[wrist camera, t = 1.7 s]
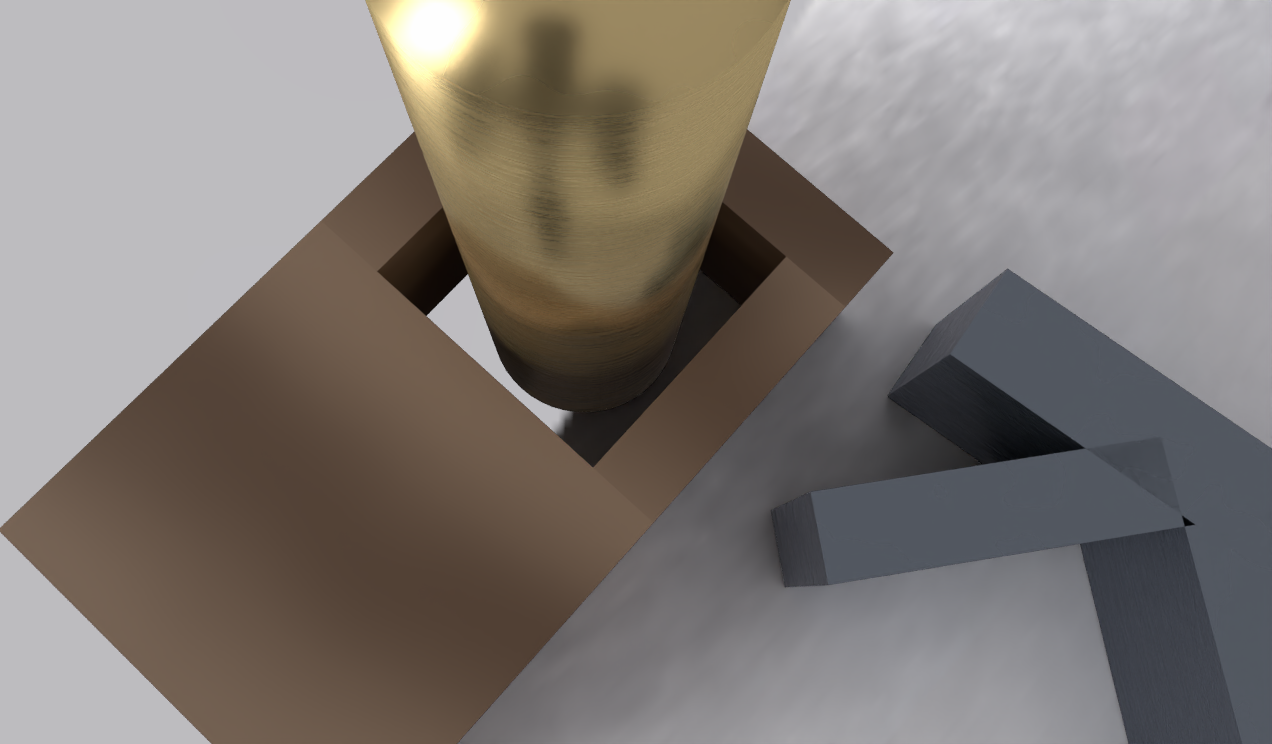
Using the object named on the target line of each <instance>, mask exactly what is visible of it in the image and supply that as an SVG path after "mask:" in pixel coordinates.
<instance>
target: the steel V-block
mask: <svg viewBox="0 0 1272 744" xmlns="http://www.w3.org/2000/svg"><path fill="white" fill-rule="evenodd" d="M888 397H889V398H891V399H892V400H893V401H895V402H896V403H898V404H899V405H901V406H902V407H903V408H905V409H906V410H908V411H909V412H910V413H912V414H913V415H915V416H916V417H918V418H919V419H920V420H922V421H923V422H925V423H926V424H928V425H929V426H930V427H932V428H933V429H935V430H936V431H938V432H939V433H940V434H942V435H943V436H945V437H946V438H947V439H949V440H950V441H952V442H953V443H955V444H956V445H957V446H959V447H960V448H962V449H963V450H965V451H966V452H967V453H969V454H970V455H972V456H973V457H974V458H976V459H977V460H979V461H980V462H982V463H983V464H984V465H978V466H972V467H965V468H959V469H953V470H946V471H940V472H933V473H927V474H921V475H914V476H908V477H902V478H895V479H889V480H882V481H876V482H870V483H863V484H857V485H851V486H844V487H838V488H832V489H825V490H819V491H812V492H809V493H807V494H805V495H803V496H801V497H798V498H796V499H794V500H792V501H790V502H788V503H786V504H783V505H781V506H779V507H777V508H775V509H773V510H771V514H772V520H773V525H774V530H775V536H776V541H777V547H778V552H779V558H780V563H781V568H782V574H783V579H784V585H785V587H796V586H817V585H831V584H837V583H844V582H850V581H856V580H862V579H868V578H874V577H880V576H886V575H892V574H898V573H904V572H911V571H917V570H923V569H929V568H935V567H941V566H947V565H953V564H959V563H965V562H971V561H977V560H984V559H990V558H996V557H1002V556H1008V555H1014V554H1020V553H1026V552H1032V551H1038V550H1044V549H1050V548H1057V547H1063V546H1069V545H1075V544H1080V545H1081V549H1082V553H1083V557H1084V561H1085V565H1086V570H1087V574H1088V578H1089V582H1090V586H1091V590H1092V594H1093V598H1094V602H1095V607H1096V611H1097V615H1098V619H1099V623H1100V627H1101V631H1102V635H1103V639H1104V644H1105V648H1106V652H1107V656H1108V660H1109V664H1110V668H1111V672H1112V676H1113V681H1114V685H1115V689H1116V693H1117V697H1118V701H1119V705H1120V709H1121V713H1122V718H1123V722H1124V726H1125V730H1126V734H1127V738H1128V742H1129V744H1272V449H1271V448H1270V447H1268V446H1267V445H1266V444H1264V443H1263V442H1261V441H1260V440H1258V439H1257V438H1255V437H1254V436H1252V435H1251V434H1249V433H1248V432H1246V431H1245V430H1244V429H1242V428H1241V427H1239V426H1238V425H1236V424H1235V423H1233V422H1232V421H1230V420H1229V419H1227V418H1226V417H1224V416H1223V415H1222V414H1220V413H1219V412H1217V411H1216V410H1214V409H1213V408H1211V407H1210V406H1208V405H1207V404H1205V403H1204V402H1202V401H1201V400H1200V399H1198V398H1197V397H1195V396H1194V395H1192V394H1191V393H1189V392H1188V391H1186V390H1185V389H1183V388H1182V387H1180V386H1179V385H1178V384H1176V383H1175V382H1173V381H1172V380H1170V379H1169V378H1167V377H1166V376H1164V375H1163V374H1161V373H1160V372H1158V371H1157V370H1156V369H1154V368H1153V367H1151V366H1150V365H1148V364H1147V363H1145V362H1144V361H1142V360H1141V359H1139V358H1138V357H1136V356H1135V355H1134V354H1132V353H1131V352H1129V351H1128V350H1126V349H1125V348H1123V347H1122V346H1120V345H1119V344H1117V343H1116V342H1114V341H1113V340H1112V339H1110V338H1109V337H1107V336H1106V335H1104V334H1103V333H1101V332H1100V331H1098V330H1097V329H1095V328H1094V327H1092V326H1091V325H1090V324H1088V323H1087V322H1085V321H1084V320H1082V319H1081V318H1079V317H1078V316H1076V315H1075V314H1073V313H1072V312H1070V311H1069V310H1068V309H1066V308H1065V307H1063V306H1062V305H1060V304H1059V303H1057V302H1056V301H1054V300H1053V299H1051V298H1050V297H1048V296H1047V295H1046V294H1044V293H1043V292H1041V291H1040V290H1038V289H1037V288H1035V287H1034V286H1032V285H1031V284H1029V283H1028V282H1026V281H1025V280H1024V279H1022V278H1021V277H1019V276H1018V275H1016V274H1015V273H1013V272H1012V271H1010V270H1009V269H1006V270H1005V271H1004V272H1003V273H1001V274H1000V275H999V276H997V277H996V278H995V279H994V280H992V281H991V282H990V283H989V284H987V285H986V286H985V287H983V288H982V289H981V290H980V291H978V292H977V293H976V294H974V295H973V296H972V297H971V298H969V299H968V300H967V301H966V302H964V303H963V304H962V305H960V306H959V307H958V308H957V309H955V310H954V311H953V312H951V313H950V314H949V315H948V316H946V317H945V318H944V319H942V320H941V321H940V322H939V323H937V324H936V325H935V327H934V328H933V330H932V331H931V333H930V334H929V336H928V337H927V339H926V340H925V341H924V343H923V344H922V346H921V347H920V349H919V350H918V352H917V353H916V355H915V356H914V358H913V359H912V360H911V362H910V363H909V365H908V366H907V368H906V369H905V371H904V372H903V374H902V375H901V377H900V378H899V380H898V381H897V382H896V384H895V385H894V387H893V388H892V390H891V391H890V393H889V394H888Z"/></svg>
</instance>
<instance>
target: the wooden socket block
mask: <svg viewBox="0 0 1272 744" xmlns="http://www.w3.org/2000/svg"><path fill="white" fill-rule="evenodd" d="M892 254H893V252H892V251H891V250H890V249H889V248H887V247H886V246H885V245H884V244H883V243H882V242H880V241H879V240H878V239H877V238H876V237H874V236H873V235H872V234H871V233H870V232H868V231H867V230H866V229H865V228H864V227H863V226H861V225H860V224H859V223H858V222H857V221H855V220H854V219H853V218H852V217H851V216H849V215H848V214H847V213H846V212H845V211H844V210H842V209H841V208H840V207H839V206H838V205H836V204H835V203H834V202H833V201H832V200H830V199H829V198H828V197H827V196H826V195H825V194H823V193H822V192H821V191H820V190H819V189H817V188H816V187H815V186H814V185H813V184H811V183H810V182H809V181H808V180H807V179H806V178H804V177H803V176H802V175H801V174H800V173H798V172H797V171H796V170H795V169H794V168H792V167H791V166H790V165H789V164H788V163H787V162H785V161H784V160H783V159H782V158H781V157H779V156H778V155H777V154H776V153H775V152H773V151H772V150H771V149H770V148H769V147H768V146H766V145H765V144H764V143H763V142H762V141H760V140H759V139H758V138H757V137H756V136H754V135H753V134H752V133H751V132H750V131H749V130H747V131H746V134H745V136H744V139H743V142H742V145H741V148H740V151H739V154H738V157H737V160H736V163H735V166H734V169H733V172H732V175H731V178H730V181H729V184H728V187H727V190H726V193H725V196H724V199H723V201H722V204H721V207H720V210H719V213H718V216H717V219H716V222H715V225H714V228H713V231H712V234H711V237H710V240H709V243H708V246H707V249H706V252H705V255H704V258H703V261H702V263H701V266H700V270H701V271H702V272H704V273H705V274H706V275H707V276H708V277H709V278H710V279H712V280H713V281H714V282H715V283H716V284H717V285H718V286H720V287H721V288H722V289H723V290H724V291H725V292H727V293H728V294H729V295H730V296H731V297H732V298H733V299H735V300H736V301H737V302H738V303H739V304H740V305H742V306H741V307H740V308H739V309H738V310H737V311H736V312H735V313H734V314H733V315H732V316H731V318H730V319H729V320H728V321H727V322H726V323H725V324H724V325H723V326H722V327H721V328H720V330H719V331H718V332H717V333H716V334H715V335H714V336H713V337H712V338H711V339H710V340H709V342H708V343H707V344H706V345H705V346H704V347H703V348H702V349H701V350H700V351H699V352H698V354H697V355H696V356H695V357H694V358H693V359H692V360H691V361H690V362H689V363H688V364H687V366H686V367H685V368H684V369H683V370H682V371H681V372H680V373H679V374H678V375H677V377H676V378H675V379H674V380H673V381H672V382H671V383H670V384H669V385H668V386H667V387H666V389H665V390H664V391H663V392H662V393H661V394H660V395H659V396H658V397H657V398H656V399H655V401H654V402H653V403H652V404H651V405H650V406H649V407H648V408H647V409H646V410H645V411H644V413H643V414H642V415H641V416H640V417H639V418H638V419H637V420H636V421H635V422H634V423H633V425H632V426H631V427H630V428H629V429H628V430H627V431H626V432H625V433H624V434H623V435H622V437H621V438H620V439H619V440H618V441H617V442H616V443H615V444H614V445H613V446H612V447H611V449H610V450H609V451H608V452H607V453H606V454H605V455H604V456H603V457H602V458H601V459H600V461H599V462H598V463H597V464H596V465H595V466H594V467H592V466H591V465H589V464H588V463H587V462H586V461H585V460H584V459H583V458H582V457H581V456H580V455H578V454H577V453H576V452H575V451H574V450H573V449H572V448H571V447H570V446H569V445H567V444H566V443H565V442H564V441H563V440H562V439H561V438H560V437H559V436H558V435H556V434H555V433H554V432H553V431H552V430H551V429H550V428H549V427H548V426H547V425H545V424H544V423H543V422H542V421H541V420H540V419H539V418H538V417H537V416H536V415H534V414H533V413H532V412H531V411H530V410H529V409H528V408H527V407H526V406H524V405H523V404H522V403H521V402H520V401H519V400H518V399H517V398H516V397H514V395H512V394H511V393H510V392H509V391H508V390H507V389H506V388H505V387H504V386H503V385H501V384H500V383H499V382H498V381H497V380H496V379H495V378H494V377H492V376H491V375H490V374H489V373H488V372H487V371H486V370H485V369H484V368H483V367H481V366H480V365H479V364H478V363H477V362H476V361H475V360H474V359H473V358H472V357H470V356H469V355H468V354H467V353H466V352H465V351H464V350H463V349H462V348H461V347H460V346H458V345H457V344H456V343H455V342H454V341H453V340H452V339H451V338H450V337H448V336H447V335H446V334H445V333H444V332H443V331H442V330H441V329H440V328H439V327H438V326H436V325H435V324H434V323H433V322H432V321H431V320H430V319H429V318H428V317H426V316H427V315H428V314H429V313H430V312H431V311H432V310H433V309H434V308H435V307H436V306H437V304H439V302H441V301H442V300H443V299H444V298H445V297H446V296H447V295H448V294H449V292H450V291H452V290H453V288H454V287H456V285H457V284H458V283H459V282H460V281H461V280H462V279H463V278H464V277H465V276H466V275H467V274H468V272H467V270H466V267H465V264H464V262H463V259H462V256H461V254H460V251H459V248H458V246H457V243H456V240H455V238H454V235H453V232H452V230H451V227H450V224H449V222H448V219H447V216H446V214H445V211H444V208H443V206H442V203H441V200H440V198H439V195H438V192H437V190H436V187H435V185H434V182H433V179H432V177H431V174H430V171H429V169H428V166H427V163H426V161H425V158H424V155H423V153H422V150H421V147H420V145H419V142H418V139H417V137H416V134H415V131H414V132H413V133H412V134H411V135H410V136H409V137H408V138H407V139H406V140H405V141H404V142H403V143H402V144H401V145H400V146H399V147H398V148H397V149H396V150H395V151H394V152H393V153H391V155H389V156H388V157H387V158H386V159H385V160H384V161H383V162H382V163H381V164H380V165H379V166H378V167H377V168H376V169H375V170H374V171H373V172H372V173H371V174H370V175H369V176H367V177H366V178H365V179H364V180H363V181H362V182H361V183H360V184H359V185H358V186H357V187H356V188H355V189H354V190H353V191H352V192H351V193H350V194H349V195H348V196H347V197H345V199H343V200H342V201H341V202H340V203H339V204H338V205H337V206H336V207H335V208H334V209H333V210H332V211H331V212H330V213H329V214H328V215H327V216H326V217H325V218H324V219H323V220H322V221H320V222H319V223H318V224H317V225H316V226H315V227H314V228H313V229H312V230H311V231H310V232H309V233H308V234H307V235H306V236H305V237H304V238H303V239H302V240H301V241H299V242H298V243H297V245H295V246H294V247H293V248H292V249H291V250H290V251H289V252H288V253H287V254H286V255H285V256H284V257H283V258H282V259H281V260H280V261H279V262H278V263H277V264H275V265H274V266H273V268H271V269H270V270H269V271H268V272H267V273H266V274H265V275H264V276H263V277H262V278H261V279H260V280H259V281H258V282H257V283H256V284H255V285H253V287H251V288H250V289H249V290H248V291H247V292H246V293H245V294H244V295H243V296H242V297H241V298H240V299H239V300H238V301H237V302H236V303H235V304H234V305H233V306H232V307H230V308H229V309H228V310H227V311H226V312H225V313H224V314H223V315H222V316H221V317H220V318H219V319H218V320H217V321H216V322H215V323H214V324H213V325H212V326H211V327H210V328H209V329H208V330H206V331H205V332H204V333H203V334H202V335H201V336H200V337H199V338H198V339H197V340H196V341H195V342H194V343H193V344H192V345H191V346H190V347H189V348H188V349H187V350H186V351H185V352H184V353H182V354H181V355H180V356H179V357H178V358H177V359H176V360H175V361H174V362H173V363H172V364H171V365H170V366H169V367H168V368H167V369H166V370H165V371H164V372H163V373H162V374H161V375H160V376H158V377H157V378H156V379H155V380H154V381H153V382H152V383H151V384H150V385H149V386H148V387H147V388H146V389H145V390H144V391H143V392H142V393H141V394H140V395H138V397H137V398H135V399H134V400H133V401H132V402H131V403H130V404H129V405H128V406H127V407H126V408H125V409H124V410H123V411H122V412H121V413H120V414H119V415H118V416H117V417H116V418H114V419H113V420H112V421H111V422H110V423H109V424H108V425H107V426H106V427H105V428H104V429H103V430H102V431H101V432H100V433H99V434H98V435H97V436H96V437H95V438H94V439H93V440H91V442H89V443H88V444H87V445H86V446H85V447H84V448H83V449H82V450H81V451H80V452H79V453H78V454H77V455H76V456H75V457H74V458H73V459H72V460H71V461H70V462H69V463H67V464H66V465H65V466H64V467H63V468H62V469H61V470H60V471H59V472H58V473H57V474H56V475H55V476H54V477H53V478H52V479H51V480H50V481H49V482H48V483H47V484H46V485H44V486H43V487H42V488H41V489H40V490H39V491H38V492H37V493H36V494H35V495H34V496H33V497H32V498H31V499H30V500H29V501H28V502H27V503H26V504H25V505H24V506H23V507H22V508H20V510H18V511H17V512H16V513H15V514H14V515H13V516H12V517H11V518H10V519H9V520H8V521H7V522H6V523H5V524H4V525H3V526H2V527H1V528H0V532H1V533H2V534H3V535H4V536H5V537H6V538H7V539H8V540H9V541H10V542H11V543H12V544H13V545H14V546H15V547H16V548H17V549H18V550H19V551H20V552H21V553H22V554H23V555H24V556H25V557H26V558H27V559H28V560H29V561H30V562H31V563H32V564H33V565H34V566H35V567H36V568H37V569H38V570H39V571H40V572H41V573H42V574H43V575H44V576H45V577H46V578H47V579H48V580H49V581H50V582H51V583H52V584H53V585H54V586H55V587H56V588H57V589H58V590H59V591H60V592H61V593H62V594H63V595H64V596H65V597H66V598H67V599H68V600H69V601H70V602H71V603H72V604H73V605H74V606H75V607H76V608H77V609H78V610H79V611H80V612H81V613H82V614H83V615H84V616H85V617H86V618H87V619H88V620H89V621H90V622H91V623H92V624H93V625H94V626H95V627H96V628H97V629H98V630H99V631H100V632H101V633H102V634H103V635H104V636H105V637H106V638H107V639H108V640H109V641H110V642H111V643H112V644H113V646H114V647H115V648H117V649H118V650H119V652H120V653H121V654H123V656H125V657H126V659H128V660H129V662H130V663H131V664H133V666H134V667H135V668H137V669H138V670H139V671H140V673H141V674H142V675H143V676H144V677H145V678H146V679H147V680H149V682H151V684H153V686H154V687H155V688H156V689H157V690H158V691H159V692H160V693H161V694H162V695H163V696H164V697H165V698H166V699H167V700H168V701H169V702H170V703H172V705H173V706H174V707H175V708H176V709H177V710H179V712H180V713H181V714H182V715H183V716H185V718H186V719H187V720H189V722H190V723H191V724H193V726H194V727H195V728H196V729H197V730H198V731H199V732H201V734H202V735H204V737H205V738H207V740H208V741H209V742H210V743H211V744H457V743H458V742H459V741H460V740H461V739H462V737H463V736H464V735H465V734H466V733H467V732H468V731H469V730H470V728H471V727H472V726H473V725H474V724H475V723H476V722H477V721H478V719H479V718H480V717H481V716H482V715H483V714H484V713H485V712H486V710H487V709H488V708H489V707H490V706H491V705H492V704H493V703H494V701H495V700H496V699H497V698H498V697H499V696H500V695H501V694H502V692H503V691H504V690H505V689H506V688H507V687H508V686H509V685H510V683H511V682H512V681H513V680H514V679H515V678H516V677H517V676H518V674H519V673H520V672H521V671H522V670H523V669H524V668H525V667H526V665H527V664H528V663H529V662H530V661H531V660H532V659H533V658H534V656H535V655H536V654H537V653H538V652H539V651H540V650H541V649H542V647H543V646H544V645H545V644H546V643H547V642H548V641H549V640H550V638H551V637H552V636H553V635H554V634H555V633H556V632H557V631H558V629H559V628H560V627H561V626H562V625H563V624H564V623H565V622H566V620H567V619H568V618H569V617H570V616H571V615H572V614H573V613H574V611H575V610H576V609H577V608H578V607H579V606H580V605H581V604H582V602H583V601H584V600H585V599H586V598H587V597H588V596H589V595H590V593H591V592H592V591H593V590H594V589H595V588H596V587H597V586H598V584H599V583H600V582H601V581H602V580H603V579H604V578H605V577H606V575H607V574H608V573H609V572H610V571H611V570H612V569H613V568H614V567H615V565H616V564H617V563H618V562H619V561H620V560H621V559H622V558H623V556H624V555H625V554H626V553H627V552H628V551H629V550H630V549H631V547H632V546H633V545H634V544H635V543H636V542H637V541H638V540H639V538H640V537H641V536H642V535H643V534H644V533H645V532H646V531H647V529H648V528H649V527H650V526H651V525H652V524H653V523H654V522H655V520H656V519H657V518H658V517H659V516H660V515H661V514H662V513H663V511H664V510H665V509H666V508H667V507H668V506H669V505H670V504H671V502H672V501H673V500H674V499H675V498H676V497H677V496H678V495H679V493H680V492H681V491H682V490H683V489H684V488H685V487H686V486H687V484H688V483H689V482H690V481H691V480H692V479H693V478H694V477H695V475H696V474H697V473H698V472H699V471H700V470H701V469H702V468H703V466H704V465H705V464H706V463H707V462H708V461H709V460H710V459H711V457H712V456H713V455H714V454H715V453H716V452H717V451H718V450H719V448H720V447H721V446H722V445H723V444H724V443H725V442H726V441H727V439H728V438H729V437H730V436H731V435H732V434H733V433H734V432H735V430H736V429H737V428H738V427H739V426H740V425H741V424H742V423H743V421H744V420H745V419H746V418H747V417H748V416H749V415H750V414H751V412H752V411H753V410H754V409H755V408H756V407H757V406H758V405H759V403H760V402H761V401H762V400H763V399H764V398H765V397H766V396H767V394H768V393H769V392H770V391H771V390H772V389H773V388H774V387H775V385H776V384H777V383H778V382H779V381H780V380H781V379H782V378H783V377H784V375H785V374H786V373H787V372H788V371H789V370H790V369H791V368H792V366H793V365H794V364H795V363H796V362H797V361H798V360H799V359H800V357H801V356H802V355H803V354H804V353H805V352H806V351H807V350H808V348H809V347H810V346H811V345H812V344H813V343H814V342H815V341H816V339H817V338H818V337H819V336H820V335H821V334H822V333H823V332H824V330H825V329H826V328H827V327H828V326H829V325H830V324H831V323H832V321H833V320H834V319H835V318H836V317H837V316H838V315H839V314H840V312H841V311H842V310H843V309H844V308H845V307H846V306H847V305H848V303H849V302H850V301H851V300H852V299H853V298H854V297H855V296H856V294H857V293H858V292H859V291H860V290H861V289H862V288H863V287H864V285H865V284H866V283H867V282H868V281H869V280H870V279H871V278H872V276H873V275H874V274H875V273H876V272H877V271H878V270H879V269H880V267H881V266H882V265H883V264H884V263H885V262H886V261H887V260H888V258H889V257H890V256H891V255H892Z"/></svg>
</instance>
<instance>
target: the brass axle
mask: <svg viewBox="0 0 1272 744" xmlns="http://www.w3.org/2000/svg"><path fill="white" fill-rule="evenodd" d="M790 1H791V0H366V3H367V6H368V9H369V11H370V14H371V17H372V19H373V22H374V25H375V27H376V30H377V33H378V35H379V38H380V41H381V43H382V46H383V48H384V51H385V54H386V57H387V59H388V62H389V64H390V67H391V70H392V73H393V75H394V78H395V81H396V83H397V85H398V89H399V91H400V94H401V96H402V99H403V102H404V104H405V107H406V110H407V113H408V115H409V118H410V121H411V123H412V126H413V128H414V131H415V134H416V137H417V139H418V142H419V145H420V147H421V150H422V153H423V155H424V158H425V161H426V163H427V166H428V169H429V171H430V174H431V177H432V179H433V182H434V185H435V187H436V190H437V192H438V195H439V198H440V200H441V203H442V206H443V208H444V211H445V214H446V216H447V219H448V222H449V224H450V227H451V230H452V232H453V235H454V238H455V240H456V243H457V246H458V248H459V251H460V254H461V256H462V259H463V262H464V264H465V267H466V270H467V272H468V275H469V277H470V280H471V283H472V286H473V288H474V291H475V294H476V296H477V299H478V302H479V304H480V307H481V310H482V312H483V315H484V318H485V320H486V323H487V326H488V328H489V331H490V334H491V336H492V339H493V342H494V344H495V347H496V350H497V352H498V355H499V357H500V360H501V362H502V364H503V365H504V367H505V369H506V371H507V372H508V373H509V375H510V376H511V377H512V379H513V380H514V381H515V382H516V383H517V384H518V385H519V386H520V387H521V388H522V389H523V390H525V391H526V392H527V393H528V394H529V395H531V396H532V397H534V398H536V399H537V400H539V401H541V402H543V403H545V404H547V405H550V406H552V407H555V408H558V409H562V410H567V411H573V412H595V411H603V410H607V409H611V408H614V407H617V406H619V405H622V404H624V403H626V402H628V401H630V400H632V399H634V398H635V397H637V396H638V395H639V394H641V393H642V392H644V391H645V390H646V389H647V388H648V387H649V386H650V385H651V384H652V383H653V382H654V381H655V380H656V378H657V377H658V376H659V375H660V373H661V372H662V370H663V368H664V367H665V365H666V364H667V361H668V359H669V357H670V354H671V352H672V349H673V346H674V343H675V340H676V337H677V334H678V331H679V328H680V326H681V323H682V320H683V317H684V314H685V311H686V308H687V305H688V302H689V299H690V296H691V293H692V290H693V287H694V284H695V281H696V278H697V275H698V272H699V269H700V266H701V263H702V261H703V258H704V255H705V252H706V249H707V246H708V243H709V240H710V237H711V234H712V231H713V228H714V225H715V222H716V219H717V216H718V213H719V210H720V207H721V204H722V201H723V199H724V196H725V193H726V190H727V187H728V184H729V181H730V178H731V175H732V172H733V169H734V166H735V163H736V160H737V157H738V154H739V151H740V148H741V145H742V142H743V139H744V136H745V134H746V131H747V128H748V125H749V122H750V119H751V116H752V113H753V110H754V107H755V104H756V101H757V98H758V95H759V92H760V89H761V86H762V83H763V80H764V77H765V74H766V71H767V69H768V66H769V63H770V60H771V57H772V54H773V51H774V48H775V45H776V42H777V39H778V36H779V33H780V30H781V27H782V24H783V21H784V18H785V15H786V12H787V9H788V7H789V3H790Z"/></svg>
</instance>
